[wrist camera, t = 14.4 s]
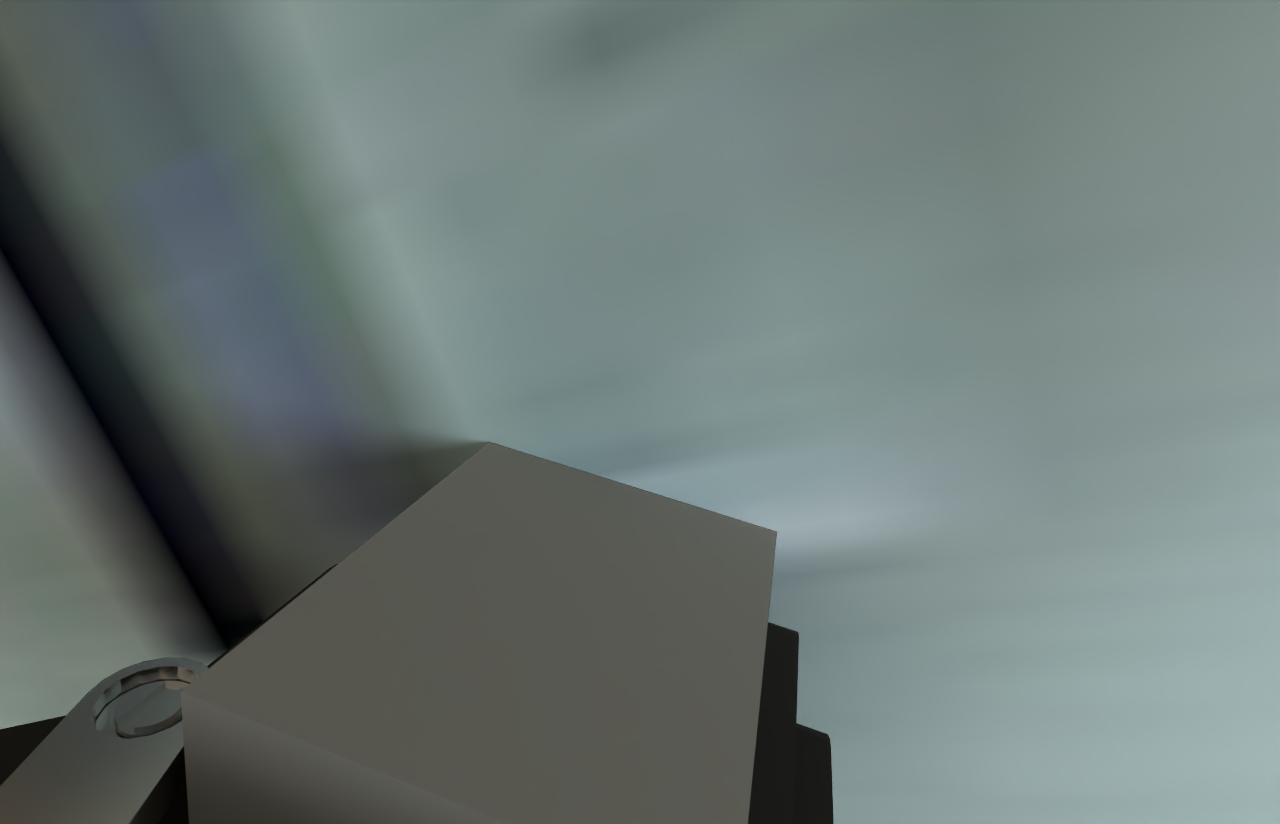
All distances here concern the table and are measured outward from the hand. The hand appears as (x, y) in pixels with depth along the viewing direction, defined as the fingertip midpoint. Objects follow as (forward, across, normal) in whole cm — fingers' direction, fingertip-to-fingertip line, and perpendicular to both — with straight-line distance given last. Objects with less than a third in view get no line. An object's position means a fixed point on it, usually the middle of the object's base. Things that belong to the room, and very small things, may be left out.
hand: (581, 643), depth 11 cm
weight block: (+1, 0, 0) cm, 1 cm away
